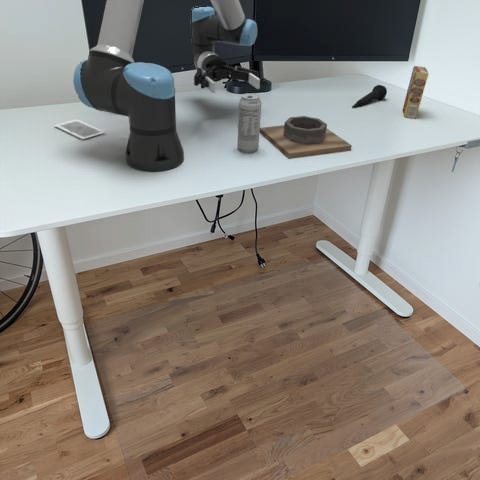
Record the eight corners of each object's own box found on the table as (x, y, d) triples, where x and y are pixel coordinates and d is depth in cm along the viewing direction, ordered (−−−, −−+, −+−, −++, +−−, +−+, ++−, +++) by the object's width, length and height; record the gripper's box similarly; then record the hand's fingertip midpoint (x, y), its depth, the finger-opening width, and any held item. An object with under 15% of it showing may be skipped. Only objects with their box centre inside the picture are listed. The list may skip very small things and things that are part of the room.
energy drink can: (261, 147, 131) (264, 94, 123) (254, 155, 126) (257, 100, 118) (241, 143, 133) (243, 91, 124) (234, 151, 128) (235, 97, 119)
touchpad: (77, 122, 143) (76, 115, 142) (106, 135, 135) (105, 128, 134) (54, 128, 138) (53, 121, 137) (83, 142, 130) (82, 135, 129)
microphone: (355, 118, 165) (385, 100, 175) (361, 104, 160) (392, 87, 171) (344, 109, 167) (374, 92, 177) (349, 96, 162) (380, 79, 173)
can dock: (350, 150, 132) (354, 131, 129) (288, 158, 125) (290, 139, 122) (316, 126, 147) (318, 109, 144) (259, 132, 141) (260, 114, 137)
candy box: (417, 119, 157) (429, 73, 148) (404, 117, 157) (415, 71, 149) (414, 110, 164) (426, 66, 155) (402, 109, 165) (412, 65, 156)
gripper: (248, 75, 152) (275, 95, 136) (174, 81, 144) (194, 103, 128) (249, 52, 148) (277, 69, 132) (173, 56, 140) (193, 75, 124)
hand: (236, 86), depth 130 cm, fingers open, 13 cm apart
